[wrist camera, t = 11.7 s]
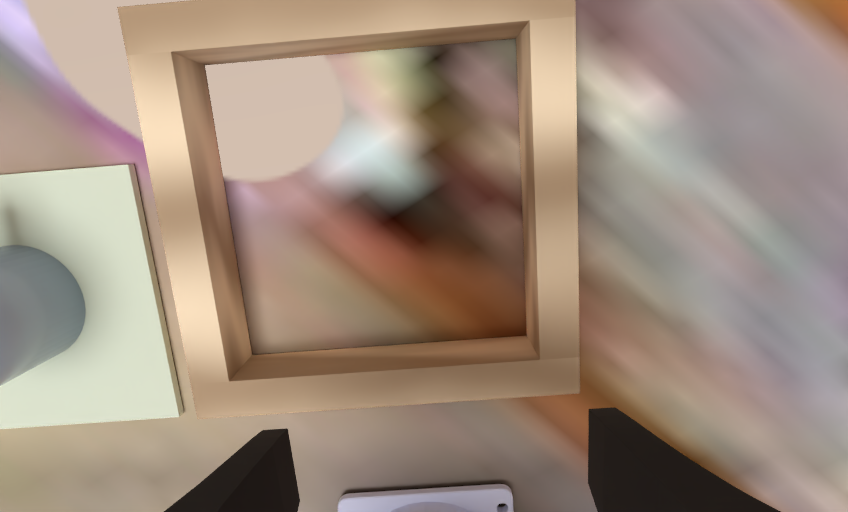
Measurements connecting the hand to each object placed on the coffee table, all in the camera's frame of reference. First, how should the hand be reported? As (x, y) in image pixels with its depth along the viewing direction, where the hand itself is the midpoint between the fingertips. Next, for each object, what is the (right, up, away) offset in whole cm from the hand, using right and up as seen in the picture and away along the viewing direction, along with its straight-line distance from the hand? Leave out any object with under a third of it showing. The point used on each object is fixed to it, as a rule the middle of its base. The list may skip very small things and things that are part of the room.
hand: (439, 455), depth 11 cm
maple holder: (-2, +7, +8) cm, 11 cm away
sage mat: (-17, +3, +9) cm, 20 cm away
